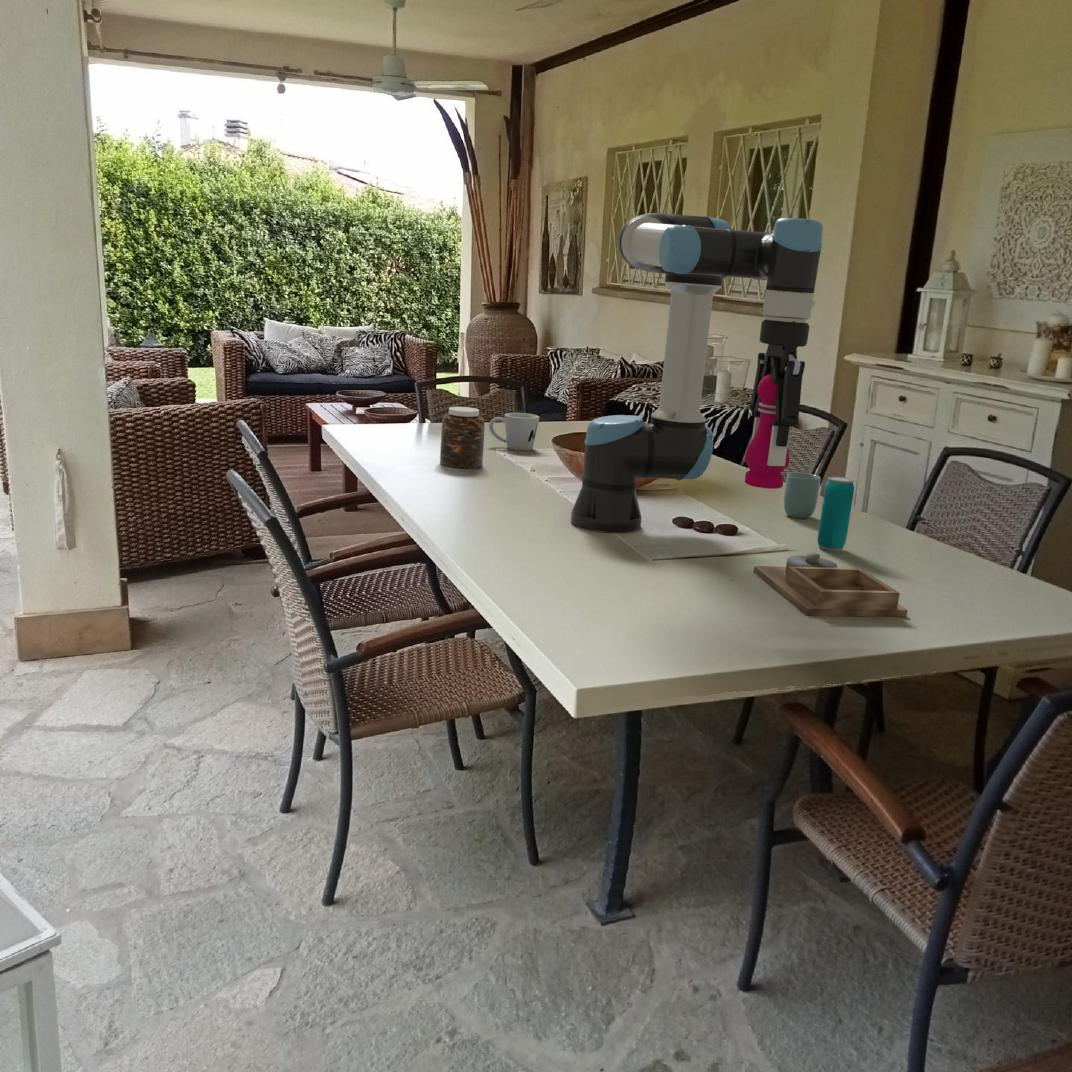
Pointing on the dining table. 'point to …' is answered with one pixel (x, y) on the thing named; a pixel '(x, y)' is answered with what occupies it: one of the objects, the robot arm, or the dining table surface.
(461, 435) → the jar
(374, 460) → the dining table surface
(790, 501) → the cup
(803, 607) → the pulley board
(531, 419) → the mug
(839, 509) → the beverage can
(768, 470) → the pepper mill
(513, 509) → the dining table surface
